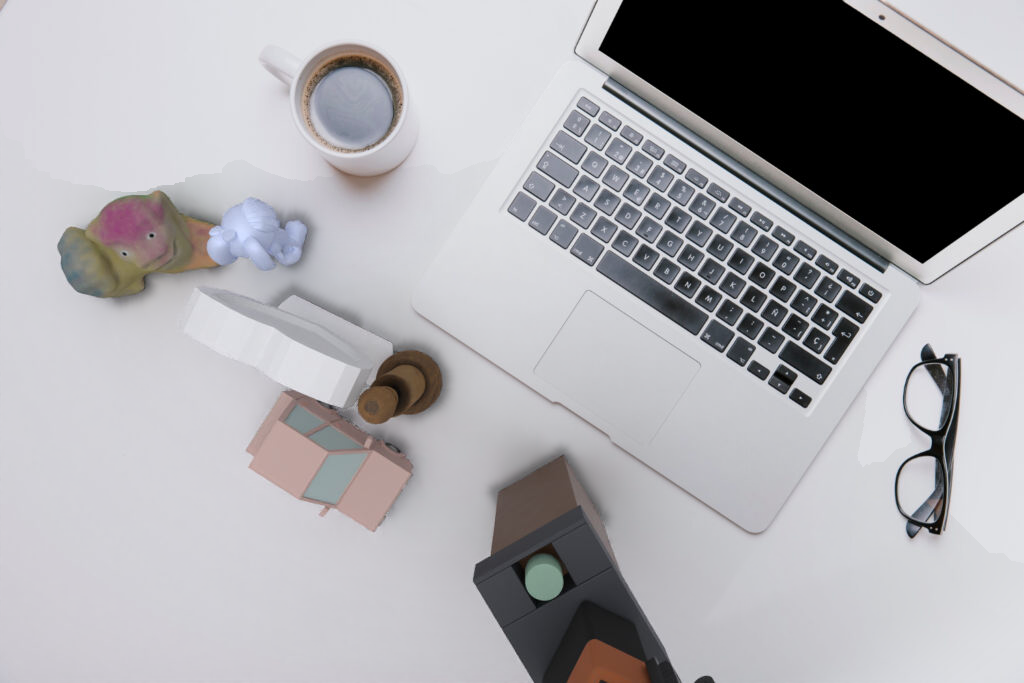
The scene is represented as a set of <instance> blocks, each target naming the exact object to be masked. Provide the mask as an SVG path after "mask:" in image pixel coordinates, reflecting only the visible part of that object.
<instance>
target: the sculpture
mask: <svg viewBox="0 0 1024 683" xmlns="http://www.w3.org/2000/svg"><path fill="white" fill-rule="evenodd" d="M215 226H217V225H216V224H214V223H212V222H208V221H204V220H201V219H197V218H193V217H191V216H188V215H186V214H184V213H181V212H179V210H178V209H177V207H176V206H175V204H174V203H173V201H172V200H171V198H170V197H169V196H168V194H167V193H165V192H163V191H162V190H157V189H156V190H154V191H152V192H151V193H149V194H132V195H131V194H130V195H123V196H121V197H118V198H116V199H114V200H112V201H110V202H109V203H107V204H106V205H105V206H104V207H102V209H101V210H100V211H99V213H98V215H97V216H96V217H94V218H93V219H92V220H91V221H90V223H88V225H87V226H86V228H84V229H83V228H80V227H77V226H69V227H67V228H65V230H64V231H63V233H62V235H61V237H60V238H59V240H58V242H57V246H56V250H57V251H58V253H59V255H60V268H61V271H62V272H63V274H64V276H65V278H66V281H67V282H68V284H69V285H70V286H71V288H72V289H73V290H74V291H75V292H77V293H79V294H83V295H87V296H90V297H94V298H98V299H109V298H111V299H120V298H124V297H127V296H131V295H136V294H138V293H141V292H142V291H143V290H144V289H145V288H146V284H145V281H144V277H145V276H147V275H149V274H155V273H158V274H159V273H160V274H161V273H162V274H171V275H173V274H179V273H183V272H186V271H191V270H192V271H193V270H202V269H203V270H205V269H212V268H215V267H218V266H220V264H218V263H216V262H215V261H214V260H212V259H211V257H210V256H209V254H208V252H207V242H208V240H209V239H210V238H211V237H212V236H210V235H209V231H210V230H211V229H212V228H213V227H215Z"/></svg>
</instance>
